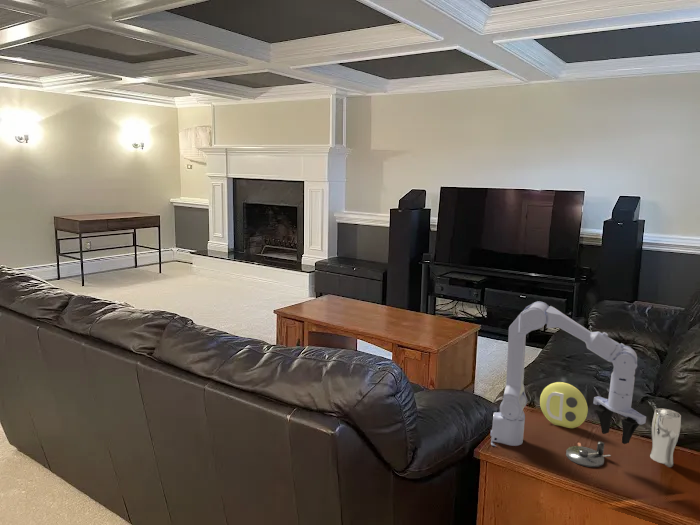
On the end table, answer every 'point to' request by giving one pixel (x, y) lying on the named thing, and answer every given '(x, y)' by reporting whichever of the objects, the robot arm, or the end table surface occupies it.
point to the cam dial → (586, 455)
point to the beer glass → (665, 435)
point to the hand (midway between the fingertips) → (615, 437)
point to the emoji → (563, 405)
